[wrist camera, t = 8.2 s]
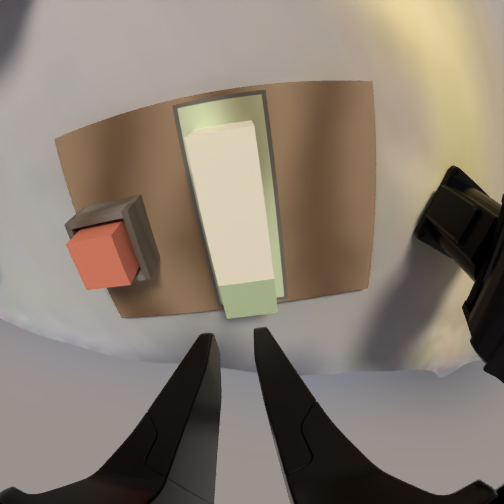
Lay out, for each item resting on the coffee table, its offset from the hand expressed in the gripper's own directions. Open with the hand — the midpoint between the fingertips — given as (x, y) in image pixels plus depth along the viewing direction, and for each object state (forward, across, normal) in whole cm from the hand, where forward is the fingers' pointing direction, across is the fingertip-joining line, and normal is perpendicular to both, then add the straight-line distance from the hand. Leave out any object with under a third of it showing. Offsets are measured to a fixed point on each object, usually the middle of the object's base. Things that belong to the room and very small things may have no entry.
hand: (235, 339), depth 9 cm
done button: (+9, +8, 0) cm, 12 cm away
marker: (+10, 0, 0) cm, 10 cm away
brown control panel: (+11, +1, 0) cm, 11 cm away
